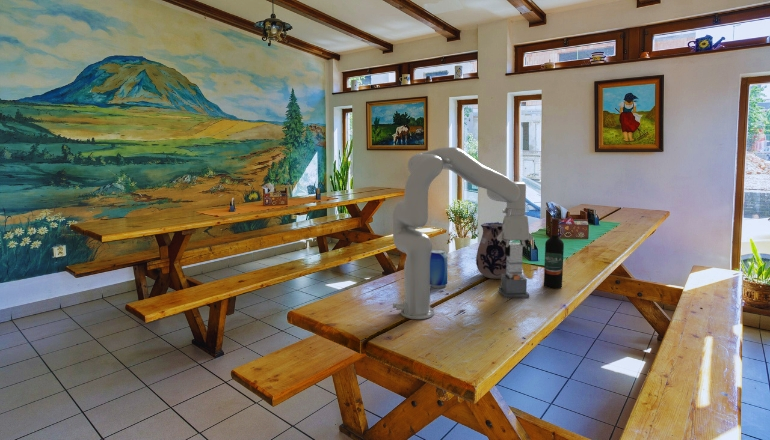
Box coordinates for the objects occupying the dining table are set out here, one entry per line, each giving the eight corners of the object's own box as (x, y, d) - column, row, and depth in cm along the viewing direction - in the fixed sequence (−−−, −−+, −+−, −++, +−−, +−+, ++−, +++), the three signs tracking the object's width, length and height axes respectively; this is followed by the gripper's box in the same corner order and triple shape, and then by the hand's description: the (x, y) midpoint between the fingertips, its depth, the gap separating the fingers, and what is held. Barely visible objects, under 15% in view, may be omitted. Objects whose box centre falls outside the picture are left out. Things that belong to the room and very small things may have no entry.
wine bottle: (564, 285, 203) (567, 218, 198) (557, 289, 197) (560, 221, 192) (548, 282, 208) (550, 216, 203) (540, 286, 203) (543, 219, 197)
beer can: (450, 284, 208) (450, 249, 206) (442, 289, 201) (442, 254, 199) (433, 281, 213) (433, 248, 210) (425, 286, 206) (425, 251, 203)
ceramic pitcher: (476, 281, 212) (477, 228, 207) (475, 268, 232) (475, 220, 228) (515, 282, 209) (517, 228, 204) (511, 269, 229) (512, 220, 225)
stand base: (504, 298, 189) (505, 277, 187) (498, 290, 198) (498, 270, 197) (529, 297, 189) (529, 276, 187) (521, 289, 199) (522, 269, 197)
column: (509, 288, 190) (510, 245, 187) (505, 284, 196) (506, 242, 192) (521, 287, 190) (522, 245, 187) (517, 283, 196) (519, 242, 192)
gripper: (497, 214, 184) (496, 258, 187) (539, 213, 184) (538, 257, 187) (492, 211, 191) (491, 253, 194) (533, 210, 191) (531, 252, 195)
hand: (514, 255), depth 191 cm, fingers closed on column, 5 cm apart
